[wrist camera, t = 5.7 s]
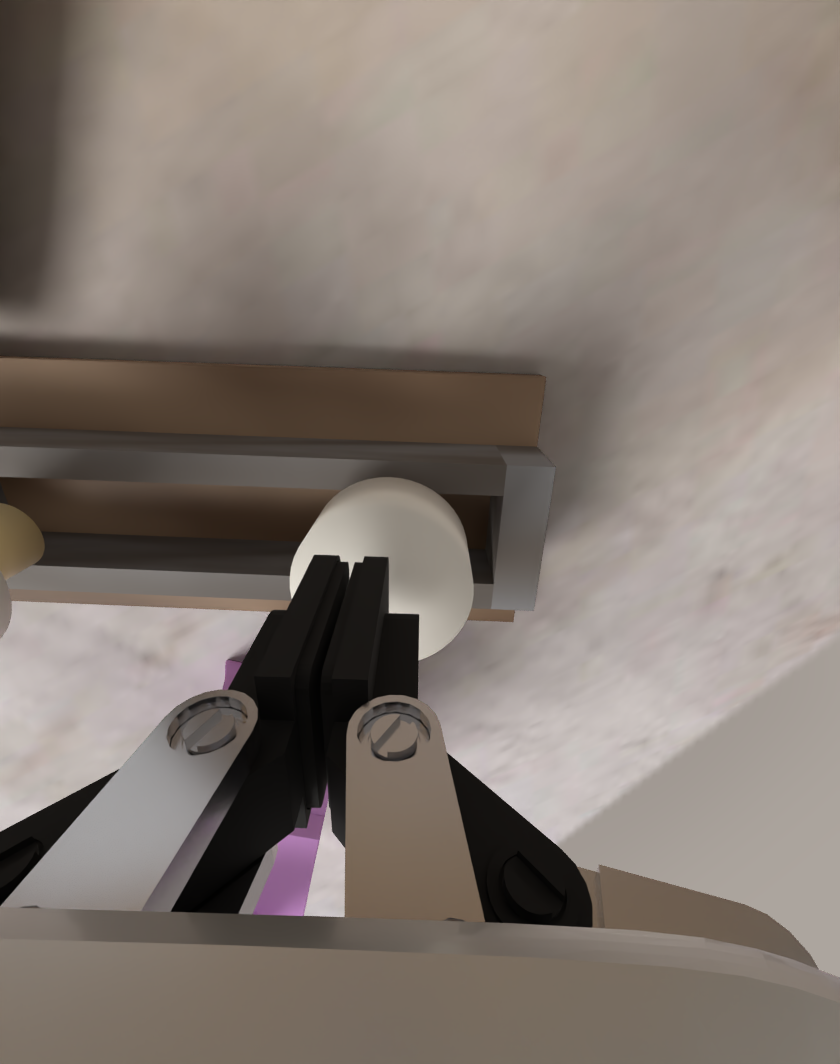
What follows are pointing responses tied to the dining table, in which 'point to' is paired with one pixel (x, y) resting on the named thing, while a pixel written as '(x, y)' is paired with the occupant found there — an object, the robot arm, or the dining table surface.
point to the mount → (256, 473)
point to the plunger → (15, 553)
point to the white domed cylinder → (400, 551)
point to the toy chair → (288, 855)
